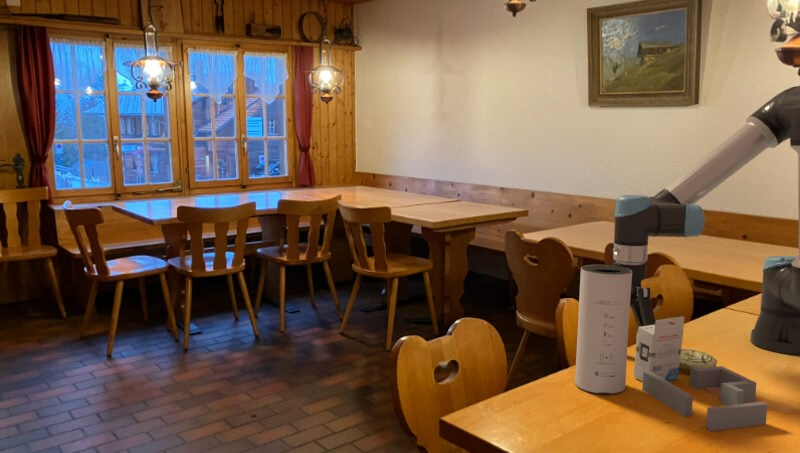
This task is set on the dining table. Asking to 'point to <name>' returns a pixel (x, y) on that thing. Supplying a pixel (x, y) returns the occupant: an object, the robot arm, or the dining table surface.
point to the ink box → (659, 349)
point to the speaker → (603, 329)
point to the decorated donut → (695, 360)
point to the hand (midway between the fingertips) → (625, 349)
